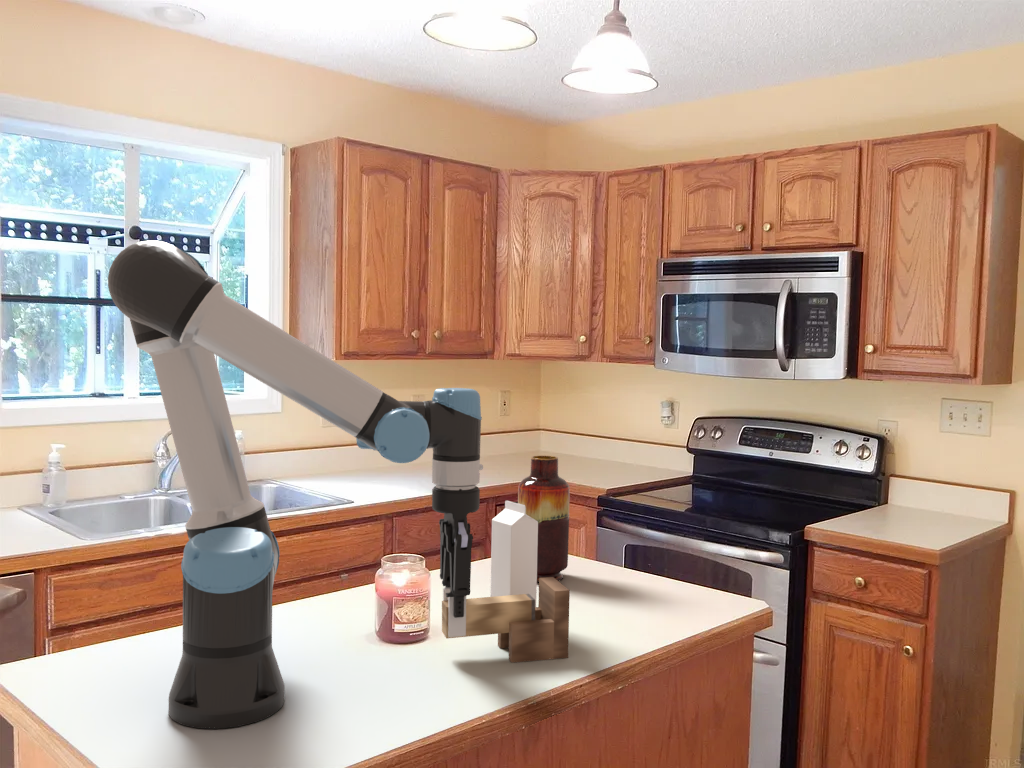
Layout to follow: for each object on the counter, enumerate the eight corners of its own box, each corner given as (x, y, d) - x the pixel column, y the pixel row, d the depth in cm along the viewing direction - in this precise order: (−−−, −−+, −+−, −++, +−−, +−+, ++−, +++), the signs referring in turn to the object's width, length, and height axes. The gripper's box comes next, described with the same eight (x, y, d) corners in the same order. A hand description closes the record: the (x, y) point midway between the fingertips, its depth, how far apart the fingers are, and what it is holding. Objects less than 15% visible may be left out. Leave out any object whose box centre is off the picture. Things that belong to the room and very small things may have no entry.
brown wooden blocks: (511, 662, 140) (512, 593, 139) (497, 645, 147) (499, 580, 147) (568, 657, 142) (569, 590, 142) (551, 640, 150) (553, 576, 150)
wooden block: (446, 638, 139) (446, 607, 139) (441, 631, 142) (441, 600, 142) (535, 630, 143) (535, 599, 143) (528, 623, 146) (528, 593, 146)
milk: (509, 632, 154) (511, 507, 153) (489, 623, 159) (491, 501, 158) (536, 626, 158) (538, 503, 157) (516, 617, 163) (518, 498, 162)
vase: (512, 582, 186) (515, 459, 185) (520, 569, 197) (523, 453, 196) (564, 586, 184) (567, 461, 183) (570, 572, 195) (572, 455, 194)
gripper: (492, 493, 133) (489, 647, 134) (467, 477, 149) (465, 614, 150) (443, 495, 131) (441, 651, 132) (423, 478, 147) (421, 617, 148)
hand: (453, 631), depth 141 cm, fingers closed on wooden block, 3 cm apart
